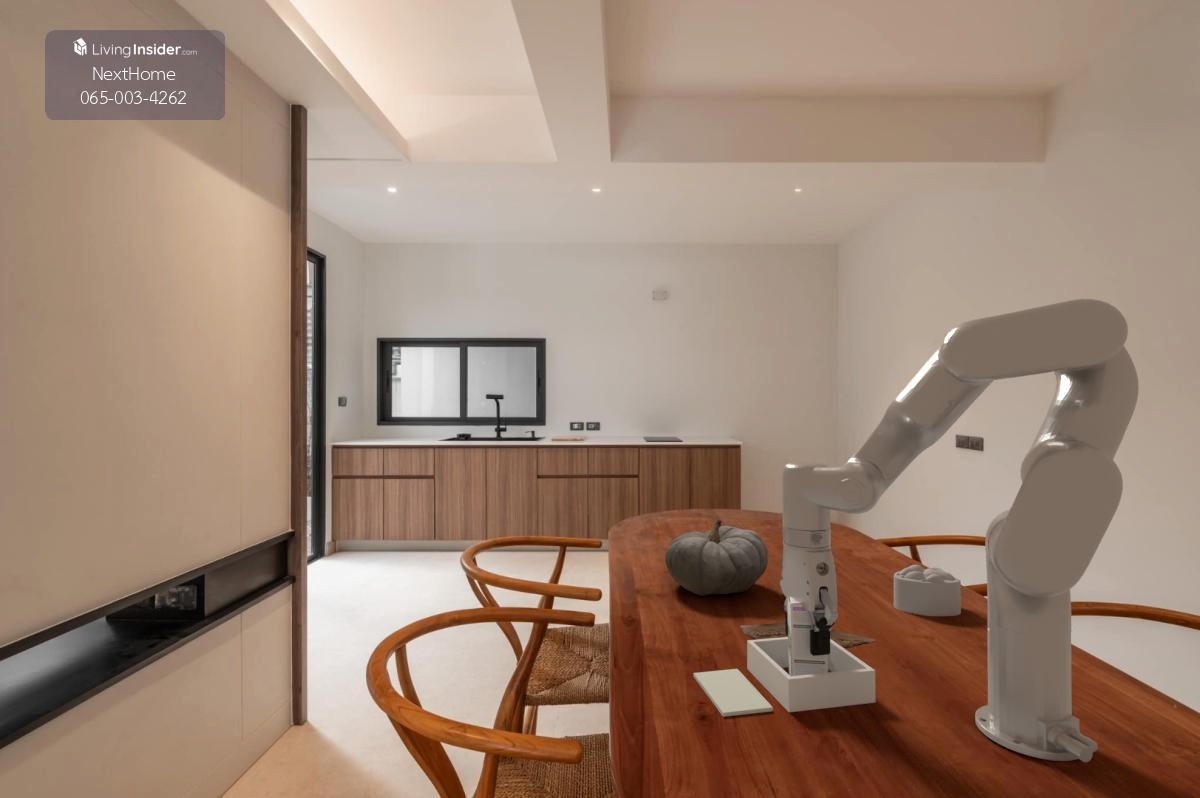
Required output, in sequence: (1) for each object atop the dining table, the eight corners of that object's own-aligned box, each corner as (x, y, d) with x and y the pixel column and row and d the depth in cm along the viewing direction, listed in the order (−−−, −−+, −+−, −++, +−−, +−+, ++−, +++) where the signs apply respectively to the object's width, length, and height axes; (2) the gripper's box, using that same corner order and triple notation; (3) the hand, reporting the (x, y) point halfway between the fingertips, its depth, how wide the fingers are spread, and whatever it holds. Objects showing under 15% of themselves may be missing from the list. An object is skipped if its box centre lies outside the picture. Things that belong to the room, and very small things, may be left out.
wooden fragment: (737, 640, 117) (737, 634, 117) (741, 620, 127) (741, 615, 127) (881, 656, 109) (881, 651, 109) (872, 634, 119) (872, 629, 119)
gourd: (795, 585, 141) (780, 514, 141) (710, 620, 130) (694, 542, 131) (731, 569, 164) (718, 507, 164) (654, 597, 153) (641, 531, 153)
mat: (772, 711, 90) (772, 707, 90) (723, 716, 88) (723, 712, 88) (737, 672, 102) (737, 668, 102) (693, 676, 101) (693, 673, 101)
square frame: (875, 702, 92) (875, 670, 92) (788, 712, 89) (788, 679, 89) (823, 661, 106) (823, 633, 106) (747, 668, 104) (747, 640, 104)
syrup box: (829, 694, 94) (828, 604, 94) (790, 691, 96) (790, 602, 96) (823, 678, 100) (822, 592, 100) (786, 675, 101) (786, 590, 101)
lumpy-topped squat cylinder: (967, 616, 128) (967, 576, 128) (908, 616, 128) (907, 576, 128) (938, 599, 138) (938, 562, 138) (884, 600, 138) (883, 563, 138)
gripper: (859, 549, 90) (859, 665, 90) (800, 525, 107) (800, 622, 107) (814, 551, 89) (814, 670, 89) (761, 527, 106) (762, 626, 106)
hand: (806, 643), depth 98 cm, fingers closed on syrup box, 7 cm apart
